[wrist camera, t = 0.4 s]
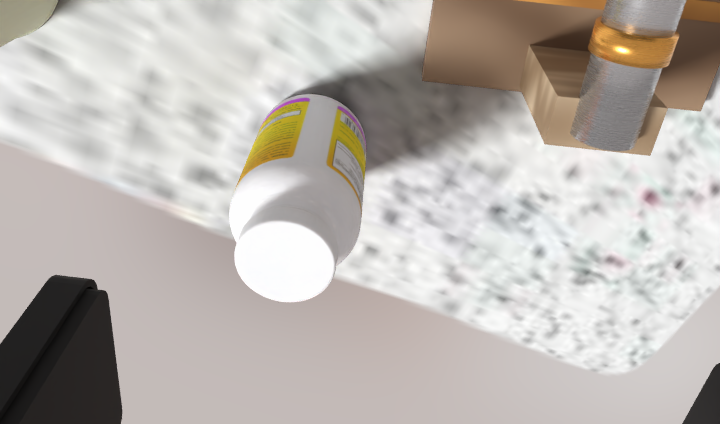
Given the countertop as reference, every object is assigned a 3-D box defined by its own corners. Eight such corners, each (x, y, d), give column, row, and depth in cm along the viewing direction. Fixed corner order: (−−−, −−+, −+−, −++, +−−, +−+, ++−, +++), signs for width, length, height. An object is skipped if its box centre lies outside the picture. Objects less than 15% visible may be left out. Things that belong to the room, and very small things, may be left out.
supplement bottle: (249, 168, 42) (197, 295, 31) (276, 75, 38) (228, 180, 27) (348, 200, 43) (331, 334, 32) (383, 111, 39) (377, 228, 28)
